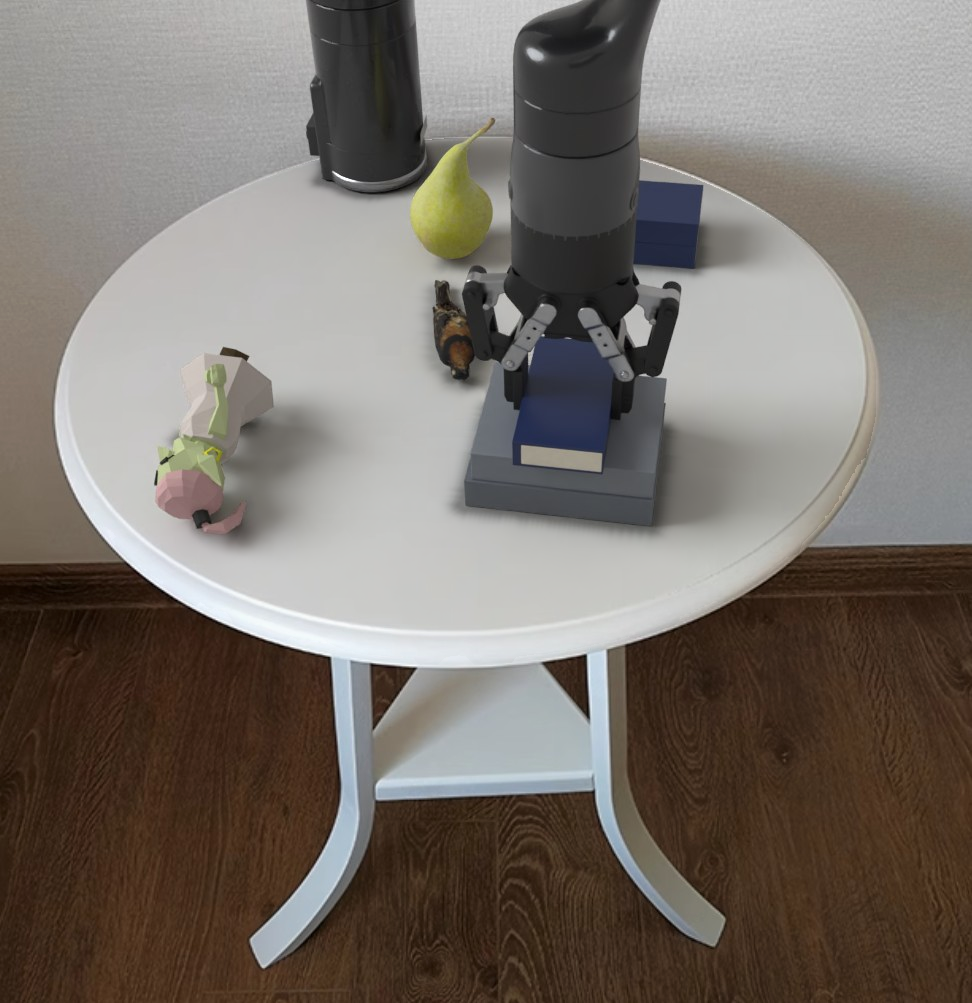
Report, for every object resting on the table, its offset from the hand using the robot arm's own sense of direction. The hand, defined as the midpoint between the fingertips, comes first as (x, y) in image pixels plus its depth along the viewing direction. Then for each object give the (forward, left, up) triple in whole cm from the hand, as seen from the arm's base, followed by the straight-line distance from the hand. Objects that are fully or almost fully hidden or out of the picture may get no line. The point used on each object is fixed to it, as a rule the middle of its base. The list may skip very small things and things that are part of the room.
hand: (568, 406), depth 85 cm
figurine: (-25, +3, -2) cm, 26 cm away
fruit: (-13, +25, -6) cm, 29 cm away
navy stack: (+2, +28, -6) cm, 29 cm away
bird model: (-11, +13, -6) cm, 18 cm away
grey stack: (0, 0, -6) cm, 6 cm away
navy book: (0, 0, -1) cm, 1 cm away
